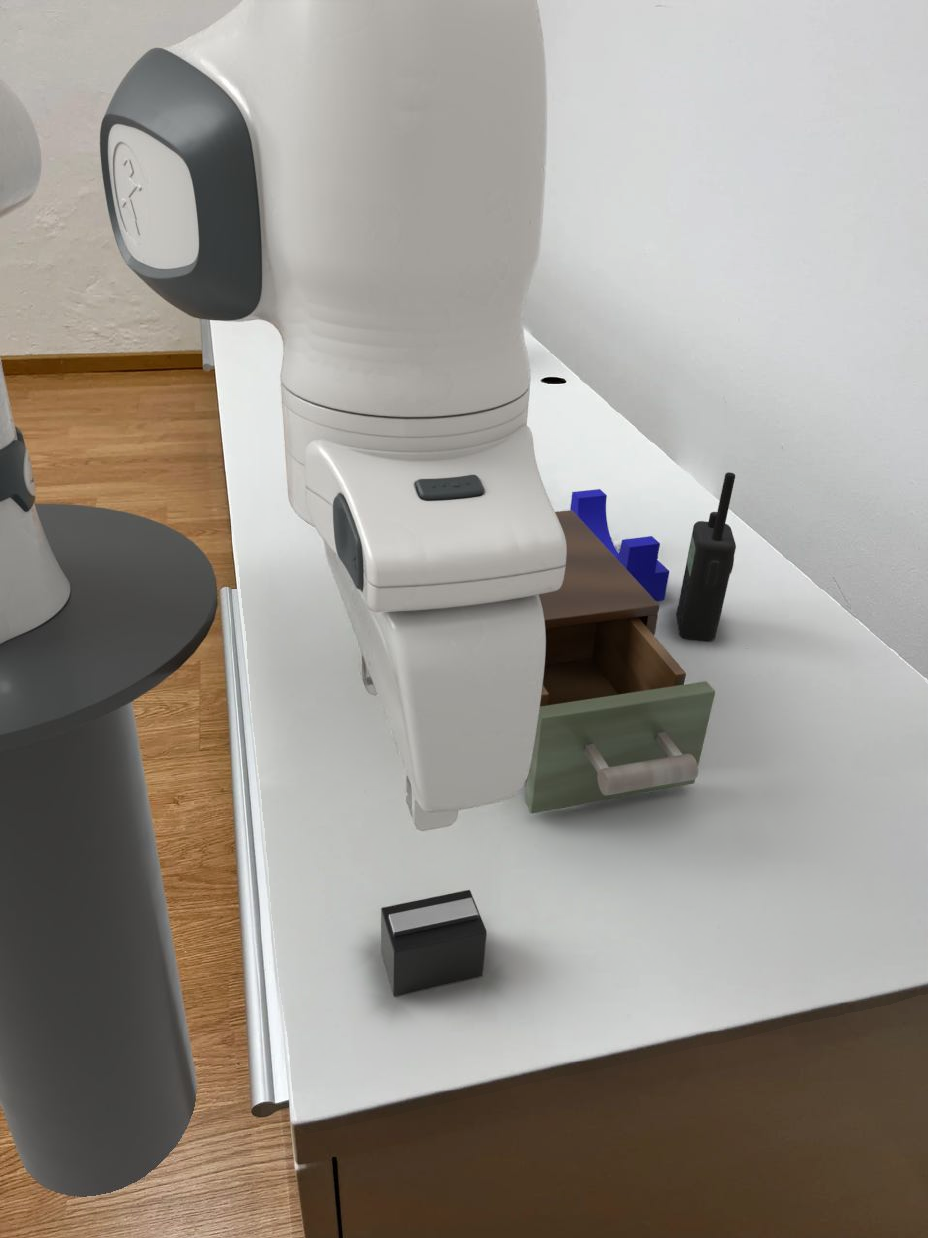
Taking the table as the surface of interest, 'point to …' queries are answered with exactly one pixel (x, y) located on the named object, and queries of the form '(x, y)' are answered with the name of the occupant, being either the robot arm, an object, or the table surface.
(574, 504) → the blue curved block
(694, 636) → the walkie-talkie
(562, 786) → the drawer
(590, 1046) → the table surface
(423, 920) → the black block
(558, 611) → the cabinet
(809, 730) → the table surface
